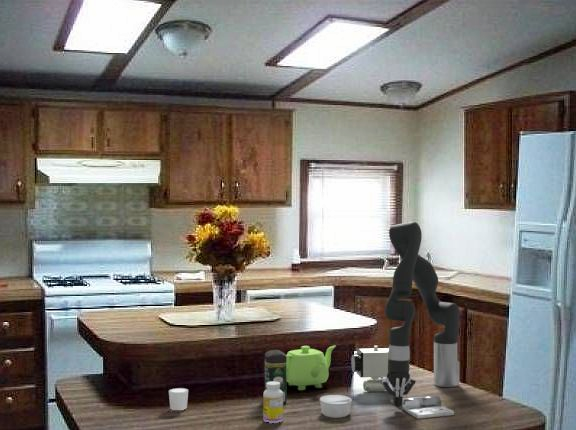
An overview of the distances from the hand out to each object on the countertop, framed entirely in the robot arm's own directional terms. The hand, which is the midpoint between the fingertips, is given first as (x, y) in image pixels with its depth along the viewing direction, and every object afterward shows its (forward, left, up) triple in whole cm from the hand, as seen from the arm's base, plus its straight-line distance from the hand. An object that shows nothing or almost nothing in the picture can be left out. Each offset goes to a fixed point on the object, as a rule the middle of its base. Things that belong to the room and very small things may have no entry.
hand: (397, 406), depth 248 cm
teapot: (+17, -41, -2) cm, 44 cm away
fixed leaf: (-9, -4, -2) cm, 10 cm away
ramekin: (+22, -4, -2) cm, 22 cm away
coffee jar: (+37, -26, -2) cm, 45 cm away
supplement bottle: (+45, -3, -2) cm, 45 cm away
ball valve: (-4, -27, -2) cm, 27 cm away
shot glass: (+73, -26, -2) cm, 77 cm away
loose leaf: (-9, +4, -1) cm, 10 cm away
